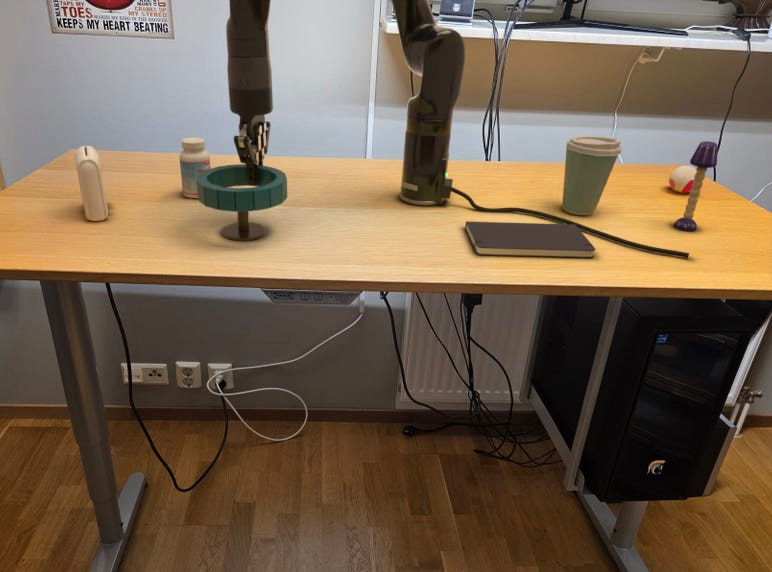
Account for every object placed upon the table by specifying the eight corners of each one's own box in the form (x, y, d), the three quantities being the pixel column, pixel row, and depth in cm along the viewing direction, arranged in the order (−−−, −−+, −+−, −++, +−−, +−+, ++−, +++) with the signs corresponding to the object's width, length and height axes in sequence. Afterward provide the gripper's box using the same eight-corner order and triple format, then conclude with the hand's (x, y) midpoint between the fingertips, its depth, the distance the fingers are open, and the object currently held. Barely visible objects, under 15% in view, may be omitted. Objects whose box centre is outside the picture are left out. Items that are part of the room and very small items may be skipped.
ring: (297, 187, 122) (296, 168, 121) (271, 215, 110) (270, 195, 108) (218, 179, 125) (216, 161, 123) (184, 206, 112) (181, 186, 110)
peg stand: (271, 227, 123) (270, 201, 121) (257, 243, 117) (256, 216, 114) (231, 223, 125) (229, 197, 122) (215, 238, 118) (213, 211, 115)
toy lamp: (684, 233, 129) (712, 147, 120) (665, 225, 132) (690, 140, 123) (700, 229, 131) (729, 144, 122) (681, 222, 134) (707, 138, 125)
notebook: (573, 232, 127) (464, 229, 126) (575, 224, 126) (465, 221, 126) (595, 258, 116) (476, 255, 116) (597, 250, 116) (477, 246, 115)
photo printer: (84, 204, 130) (72, 141, 124) (107, 203, 131) (96, 140, 125) (85, 222, 122) (73, 155, 115) (109, 220, 123) (98, 154, 117)
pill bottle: (206, 200, 135) (201, 145, 129) (178, 197, 136) (172, 142, 130) (217, 191, 140) (213, 137, 134) (190, 188, 141) (185, 135, 135)
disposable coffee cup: (543, 209, 138) (558, 136, 130) (567, 198, 144) (583, 128, 136) (590, 223, 132) (609, 147, 124) (613, 211, 138) (632, 138, 130)
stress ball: (676, 210, 150) (699, 191, 145) (654, 183, 152) (676, 163, 147) (692, 202, 154) (715, 184, 149) (671, 176, 156) (693, 157, 151)
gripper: (257, 92, 107) (263, 195, 116) (282, 78, 118) (285, 173, 128) (214, 89, 108) (223, 191, 118) (243, 75, 120) (249, 170, 129)
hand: (255, 181), depth 123 cm, fingers closed on ring, 2 cm apart
